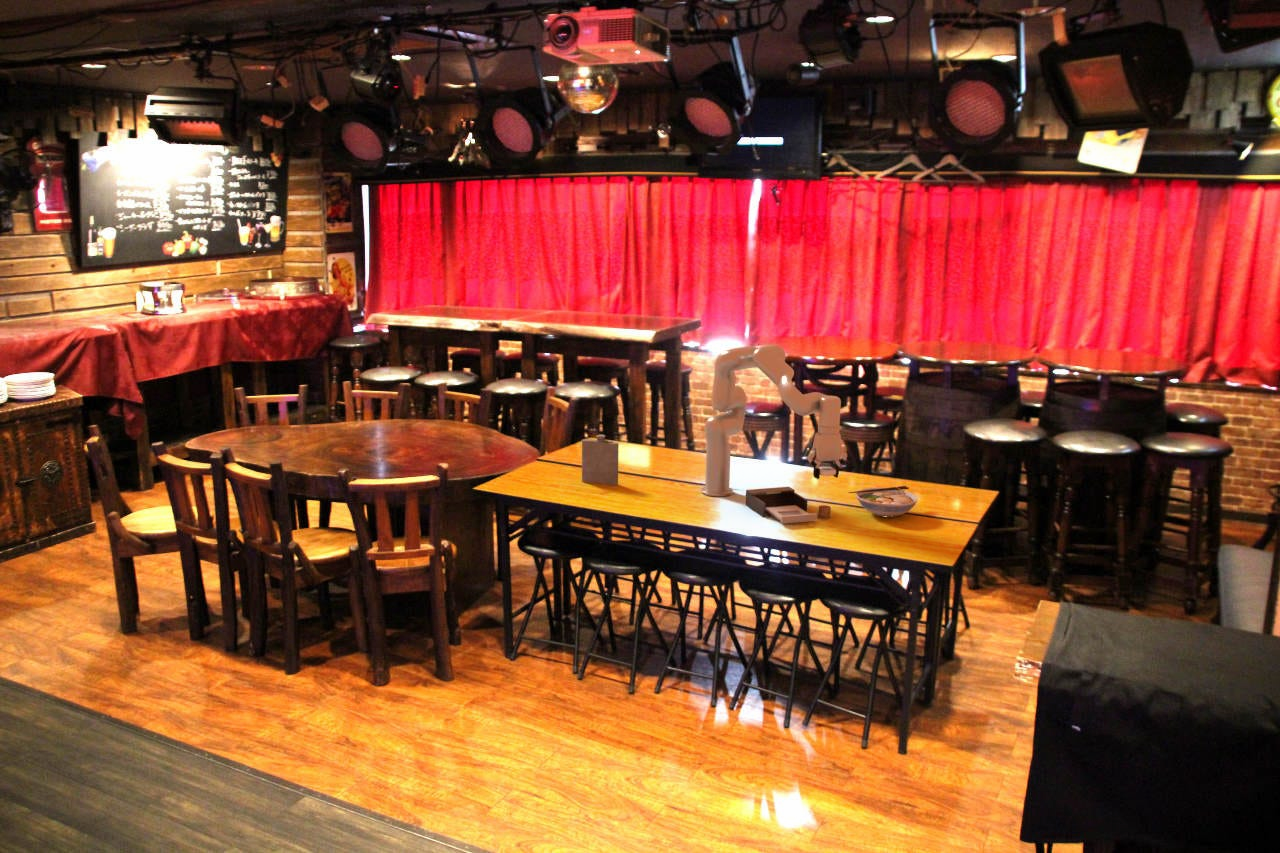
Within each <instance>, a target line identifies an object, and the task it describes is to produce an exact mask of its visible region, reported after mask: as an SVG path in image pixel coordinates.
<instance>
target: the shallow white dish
mask: <svg viewBox="0 0 1280 853" xmlns="http://www.w3.org/2000/svg"><path fill="white" fill-rule="evenodd" d="M819 468H820V476H824V477H832V476H833V475H836V469H835V468H833V466H819ZM833 477H834V476H833Z"/></svg>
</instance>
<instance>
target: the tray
mask: <svg viewBox="0 0 1280 853" xmlns="http://www.w3.org/2000/svg"><path fill="white" fill-rule="evenodd" d="M765 511H766V512H768V513H769V514H771V515H772V516H773V517H774V518H775V519H776V520H778V521H779V522H780V524H794V523H802V522H803V523H805V522H815V521H818V513H816V512H814V513H809V512H808V511H807V512H806V511H804V510H802V509H801V508H799V507H798V506H796V505H793V506H781V507H769V508H765Z"/></svg>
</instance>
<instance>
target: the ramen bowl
mask: <svg viewBox="0 0 1280 853" xmlns="http://www.w3.org/2000/svg"><path fill="white" fill-rule="evenodd" d="M909 488H910V487H909V486H907V485H902V486H894V487H893V486H892V487H869V488H861V489H860V490H857V491H849V492H848V494H855V496H856V498H857V501H858V502H859V504H860V505H861V506H862V507H863V508H864V509H865V510H866V511H867V512H870V513H872V514H874V515H875V516H877V515H879V516H878V517H880V516H887V517H886V518H892V517H891V516H894V517H896V516H901V515H904V514H906V513H908V512H909V511H911V510H912V509H913V508H914V507H915V505H916V504H917V503H918V500H919V497H918V496H917V495H916V494H914V493H912V492H909V491H907V490H909Z"/></svg>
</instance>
